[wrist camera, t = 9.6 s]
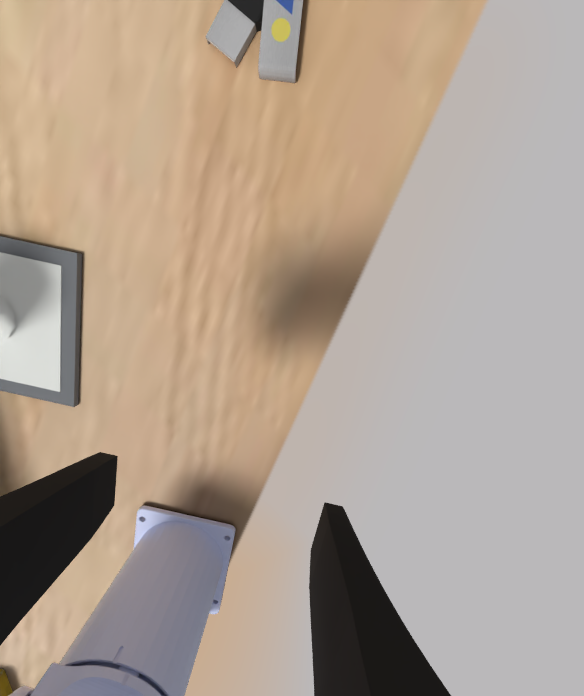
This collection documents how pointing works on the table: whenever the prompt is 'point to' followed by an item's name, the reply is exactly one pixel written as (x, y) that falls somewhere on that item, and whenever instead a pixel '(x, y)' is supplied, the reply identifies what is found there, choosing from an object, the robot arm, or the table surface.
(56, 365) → the mat
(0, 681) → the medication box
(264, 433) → the table surface
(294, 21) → the usb flash drive
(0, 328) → the milkshake
